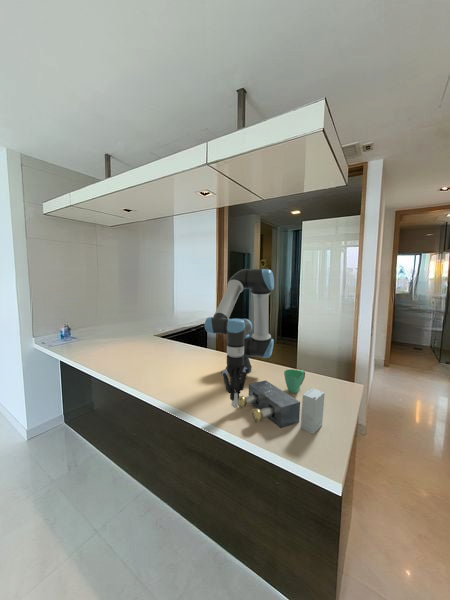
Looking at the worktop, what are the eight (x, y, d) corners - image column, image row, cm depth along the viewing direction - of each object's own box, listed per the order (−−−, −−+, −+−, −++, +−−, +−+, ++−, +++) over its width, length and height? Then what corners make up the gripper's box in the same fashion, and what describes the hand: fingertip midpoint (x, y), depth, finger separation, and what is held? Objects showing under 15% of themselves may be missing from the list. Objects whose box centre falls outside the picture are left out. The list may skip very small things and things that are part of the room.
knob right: (251, 418, 109) (251, 407, 108) (275, 411, 114) (275, 400, 114) (258, 424, 104) (258, 413, 104) (282, 417, 110) (283, 405, 109)
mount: (248, 401, 126) (248, 384, 125) (265, 397, 131) (265, 380, 130) (280, 428, 105) (281, 407, 104) (299, 422, 110) (300, 401, 109)
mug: (295, 397, 132) (296, 378, 131) (279, 390, 139) (280, 372, 138) (310, 388, 142) (311, 371, 140) (295, 382, 149) (295, 365, 148)
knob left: (236, 405, 119) (237, 394, 119) (259, 399, 125) (259, 389, 124) (242, 410, 115) (242, 399, 114) (265, 404, 120) (266, 393, 120)
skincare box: (309, 420, 111) (311, 387, 110) (323, 426, 107) (325, 391, 106) (300, 428, 105) (301, 393, 104) (314, 435, 101) (316, 398, 100)
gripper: (226, 359, 107) (225, 414, 109) (252, 355, 113) (251, 406, 115) (218, 354, 113) (217, 405, 116) (243, 350, 119) (242, 399, 122)
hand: (234, 406), depth 116 cm, fingers closed
